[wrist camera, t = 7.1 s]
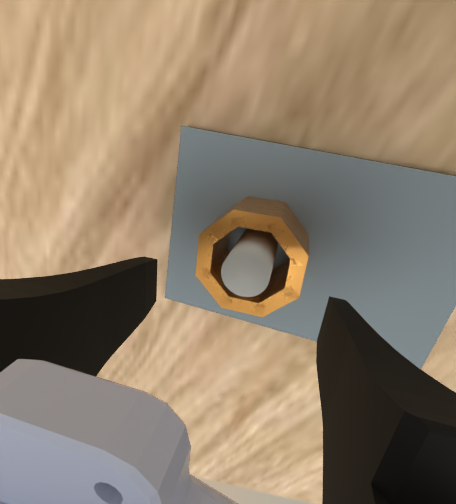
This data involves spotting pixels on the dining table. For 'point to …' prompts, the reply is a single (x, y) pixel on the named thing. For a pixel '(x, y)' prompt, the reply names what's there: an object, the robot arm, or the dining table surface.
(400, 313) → the stand
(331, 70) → the dining table surface
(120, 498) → the robot arm
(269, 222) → the collar ring
